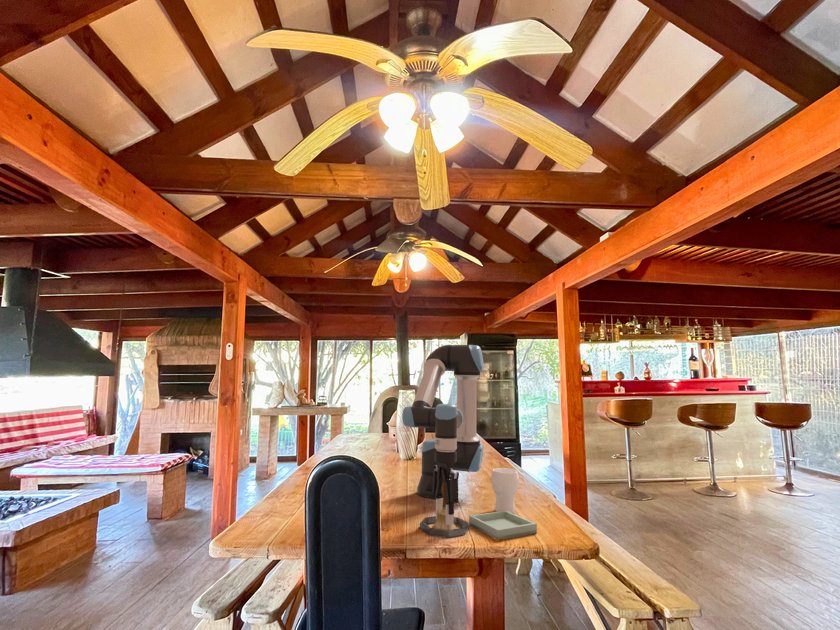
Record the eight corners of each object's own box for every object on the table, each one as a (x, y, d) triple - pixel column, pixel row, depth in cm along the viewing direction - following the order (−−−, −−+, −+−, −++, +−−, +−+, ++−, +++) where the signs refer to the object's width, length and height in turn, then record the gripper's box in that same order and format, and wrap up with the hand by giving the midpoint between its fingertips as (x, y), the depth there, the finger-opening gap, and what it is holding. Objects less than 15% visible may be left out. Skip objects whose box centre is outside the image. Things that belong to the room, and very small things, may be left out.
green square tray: (469, 524, 153) (469, 515, 154) (505, 519, 161) (505, 510, 161) (497, 540, 139) (497, 530, 140) (536, 533, 147) (536, 523, 147)
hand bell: (461, 529, 149) (462, 479, 151) (446, 535, 143) (446, 483, 145) (442, 523, 154) (443, 475, 157) (426, 528, 148) (427, 478, 151)
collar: (413, 524, 152) (413, 519, 152) (451, 519, 159) (451, 513, 159) (435, 539, 138) (435, 533, 139) (476, 532, 145) (476, 527, 146)
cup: (519, 516, 164) (519, 474, 166) (490, 513, 166) (490, 472, 168) (518, 508, 174) (518, 468, 177) (491, 506, 177) (491, 466, 179)
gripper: (423, 446, 159) (421, 514, 155) (450, 455, 142) (449, 531, 139) (441, 445, 162) (439, 512, 159) (470, 454, 146) (469, 528, 142)
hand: (444, 521), depth 149 cm, fingers closed on hand bell, 6 cm apart
